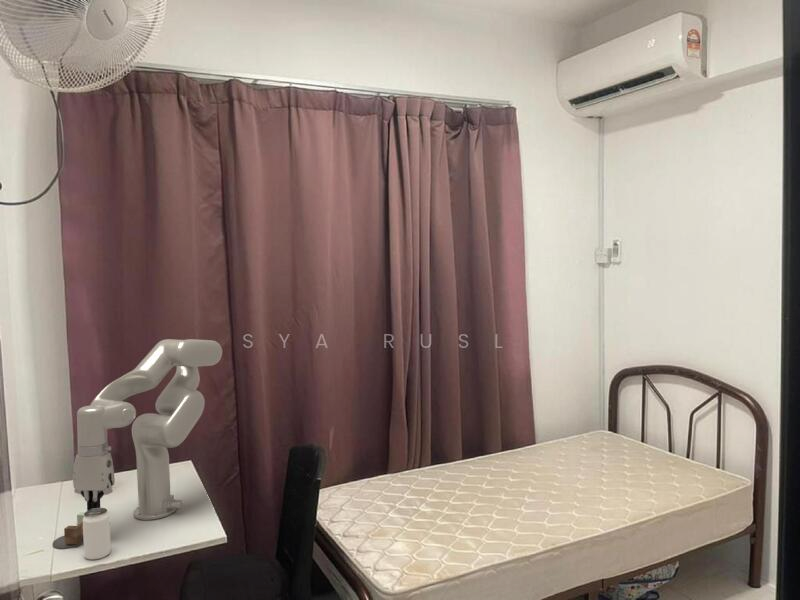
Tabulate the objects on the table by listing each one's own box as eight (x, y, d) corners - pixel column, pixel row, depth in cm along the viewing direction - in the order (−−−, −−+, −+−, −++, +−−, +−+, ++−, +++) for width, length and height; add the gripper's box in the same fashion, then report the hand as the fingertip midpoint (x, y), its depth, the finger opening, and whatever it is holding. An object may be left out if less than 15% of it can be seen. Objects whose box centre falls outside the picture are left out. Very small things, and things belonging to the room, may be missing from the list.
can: (81, 554, 166) (78, 512, 165) (106, 546, 170) (104, 505, 169) (89, 563, 161) (86, 519, 160) (114, 554, 166) (112, 511, 165)
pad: (94, 534, 178) (94, 533, 178) (75, 549, 169) (75, 547, 169) (65, 534, 179) (65, 532, 179) (45, 548, 170) (45, 546, 170)
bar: (99, 527, 181) (99, 512, 180) (77, 544, 170) (76, 529, 170) (88, 526, 181) (87, 512, 181) (64, 544, 170) (64, 528, 170)
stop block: (93, 522, 187) (93, 512, 186) (89, 525, 185) (89, 515, 184) (81, 521, 187) (80, 512, 187) (77, 524, 185) (76, 515, 185)
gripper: (125, 446, 175) (126, 509, 176) (75, 445, 177) (77, 507, 177) (110, 454, 168) (111, 519, 169) (59, 452, 169) (60, 517, 170)
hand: (93, 513), depth 173 cm, fingers closed
